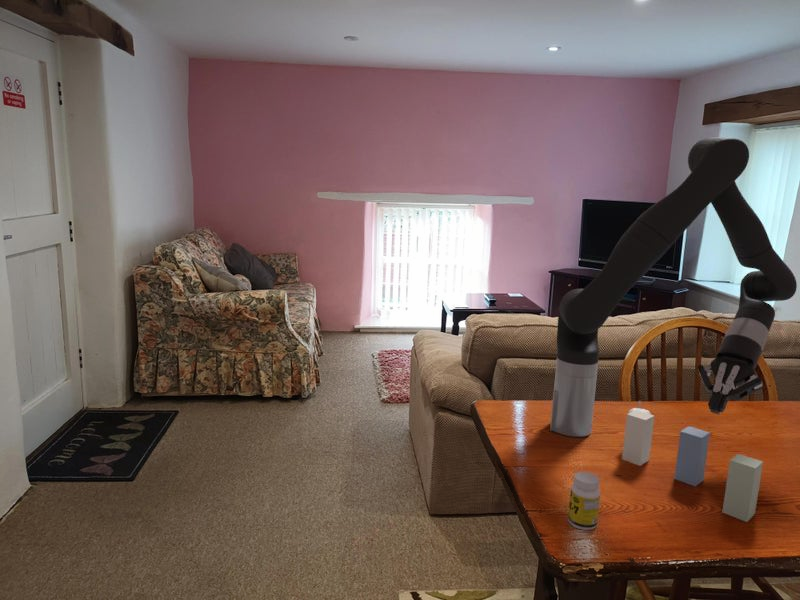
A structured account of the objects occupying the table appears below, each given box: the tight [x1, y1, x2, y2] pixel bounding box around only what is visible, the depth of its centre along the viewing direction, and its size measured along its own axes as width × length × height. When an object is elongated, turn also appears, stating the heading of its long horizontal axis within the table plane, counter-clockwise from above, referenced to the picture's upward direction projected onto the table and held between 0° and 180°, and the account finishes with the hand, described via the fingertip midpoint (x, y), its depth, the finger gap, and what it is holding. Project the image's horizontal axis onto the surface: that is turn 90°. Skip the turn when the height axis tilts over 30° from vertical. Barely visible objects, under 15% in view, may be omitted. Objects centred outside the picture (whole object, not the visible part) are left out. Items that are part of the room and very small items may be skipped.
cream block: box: [621, 410, 655, 467], centre depth 124 cm, size 4×4×10 cm
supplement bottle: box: [567, 471, 601, 531], centre depth 99 cm, size 5×5×8 cm
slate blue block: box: [674, 425, 711, 487], centre depth 116 cm, size 4×4×10 cm
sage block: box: [721, 453, 764, 523], centre depth 104 cm, size 4×4×10 cm
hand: (714, 411), depth 120 cm, fingers closed
